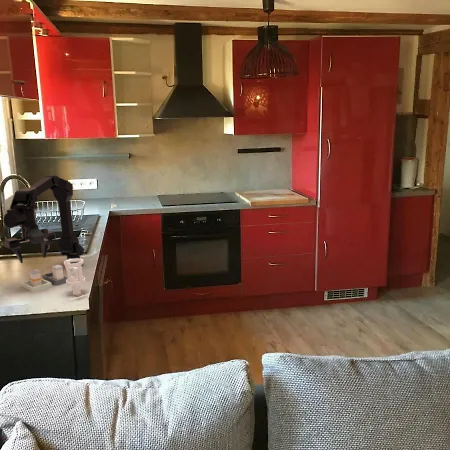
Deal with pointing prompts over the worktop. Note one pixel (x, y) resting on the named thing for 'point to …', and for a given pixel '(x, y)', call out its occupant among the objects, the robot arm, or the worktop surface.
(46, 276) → the fuse board
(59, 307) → the worktop surface
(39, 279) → the marked fuse
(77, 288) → the white tall plastic piece
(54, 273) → the block
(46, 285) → the tray
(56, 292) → the worktop surface
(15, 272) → the worktop surface
